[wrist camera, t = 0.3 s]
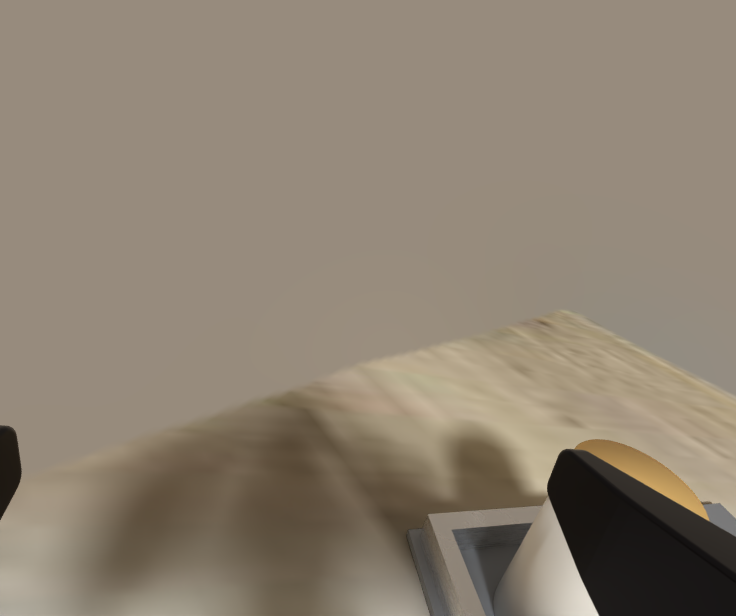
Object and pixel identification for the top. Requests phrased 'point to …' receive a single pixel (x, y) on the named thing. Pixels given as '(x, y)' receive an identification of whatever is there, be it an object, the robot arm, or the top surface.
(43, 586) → the top surface
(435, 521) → the grey square frame
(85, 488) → the top surface
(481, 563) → the slate panel
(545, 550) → the orange and white cylinder
